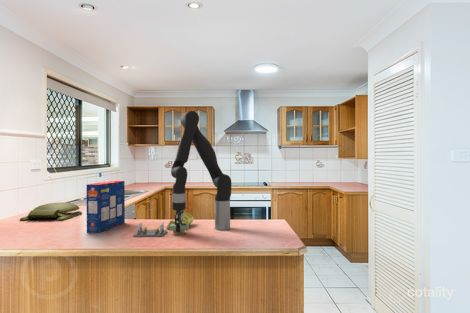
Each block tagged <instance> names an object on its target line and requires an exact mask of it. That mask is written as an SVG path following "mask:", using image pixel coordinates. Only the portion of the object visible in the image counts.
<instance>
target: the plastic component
mask: <svg viewBox="0 0 470 313" xmlns="http://www.w3.org/2000/svg"><path fill="white" fill-rule="evenodd" d="M194 220H195V217H194V216H193V215H192V214H190V213H188V212H186V211H185V212H183V222H182V223H186V224H189V226H191V224H192V223H193V221H194ZM177 223H178V221H177ZM167 224H168V225H167V226H166V230H169V226H170V225H171V224H175V220H173V219H171V220H170V221H169V222H168V223H167Z"/></svg>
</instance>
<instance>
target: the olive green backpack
mask: <svg viewBox="0 0 470 313" xmlns="http://www.w3.org/2000/svg"><path fill="white" fill-rule="evenodd" d="M70 212H71V213H70ZM65 213H69V214H65ZM82 214H83V212H82V211H80V207H79V205H78V204H75V203H70V202H51V203H45V204H42V205H38V206H37V207H34V208H33V209H32V210H30V212H29V213H28V214H27V215H26V216H23V217H21V218H20V219H19V221H20V222H26V221H29V220H33V219H37V218H41V219H43V218H44V219H45V218H56V221H58V222H65V221H66V220H69V219H71V218H74V217H77V216H80V215H82ZM57 217H58V218H57Z"/></svg>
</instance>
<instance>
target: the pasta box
mask: <svg viewBox="0 0 470 313" xmlns="http://www.w3.org/2000/svg"><path fill="white" fill-rule="evenodd" d="M125 191H126V189H125V180H109V181H104V182H96V183H89V184H88V183H87V184H86V233H88V234H89V233H91V234H100V233H101V234H102V233H103V232H105V231H108V230H111V229H113V228H116V227H118V226H120V225H123V224H124V225H125V223H126V221H125V217H126V215H125V214H126V213H125V212H126V211H125V199H126V198H125V197H126V195H125V193H126V192H125Z"/></svg>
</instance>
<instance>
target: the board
mask: <svg viewBox="0 0 470 313" xmlns="http://www.w3.org/2000/svg"><path fill="white" fill-rule="evenodd" d="M189 228H190V225H189V224H186V223H182V224H180V230H185V231H186V230H188V229H189ZM168 230H171V231H173V230H176V225H175V224H171V225H170V226H169V229H168Z"/></svg>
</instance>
